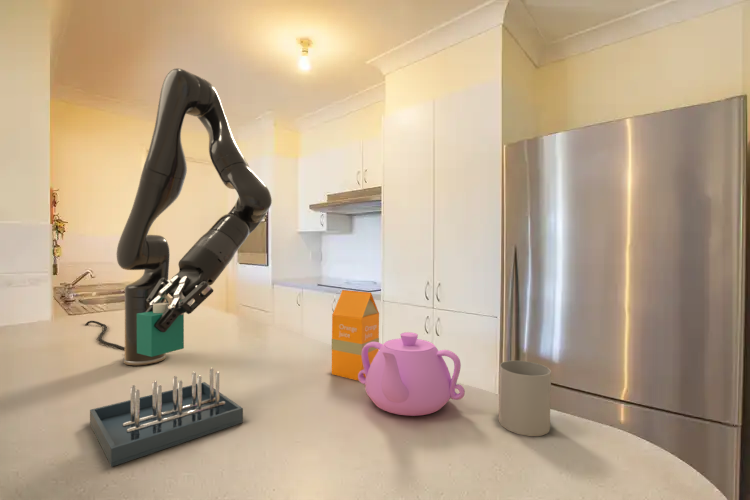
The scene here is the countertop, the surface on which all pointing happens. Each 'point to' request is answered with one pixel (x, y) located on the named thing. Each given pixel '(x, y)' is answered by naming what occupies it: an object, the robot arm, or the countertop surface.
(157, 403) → the dish rack
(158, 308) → the detergent bottle
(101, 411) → the drip tray
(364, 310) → the orange juice
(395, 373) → the teapot
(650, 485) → the countertop surface
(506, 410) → the cup
